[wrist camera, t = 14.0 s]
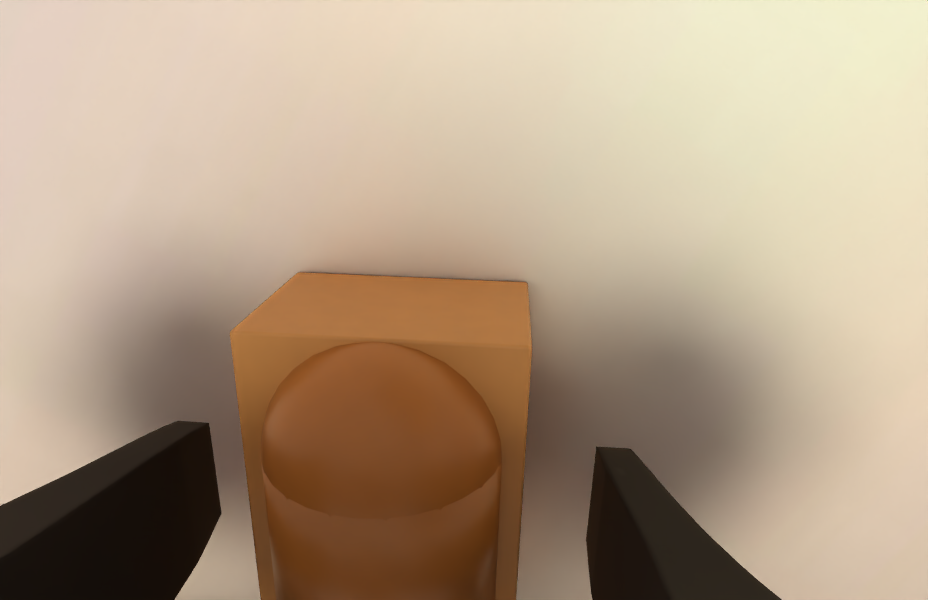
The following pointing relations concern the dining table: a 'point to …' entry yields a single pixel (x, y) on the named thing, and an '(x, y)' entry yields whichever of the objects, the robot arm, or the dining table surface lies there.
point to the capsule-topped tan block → (385, 436)
